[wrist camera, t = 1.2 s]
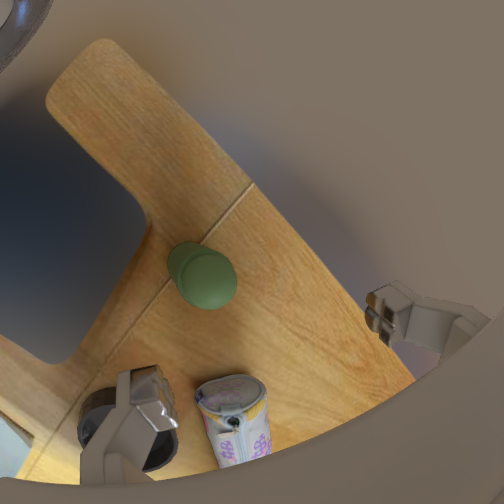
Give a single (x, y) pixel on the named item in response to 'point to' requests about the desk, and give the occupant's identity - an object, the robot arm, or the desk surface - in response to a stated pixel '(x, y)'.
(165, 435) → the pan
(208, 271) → the green dome-topped cylinder
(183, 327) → the desk surface
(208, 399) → the pencil case
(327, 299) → the desk surface
